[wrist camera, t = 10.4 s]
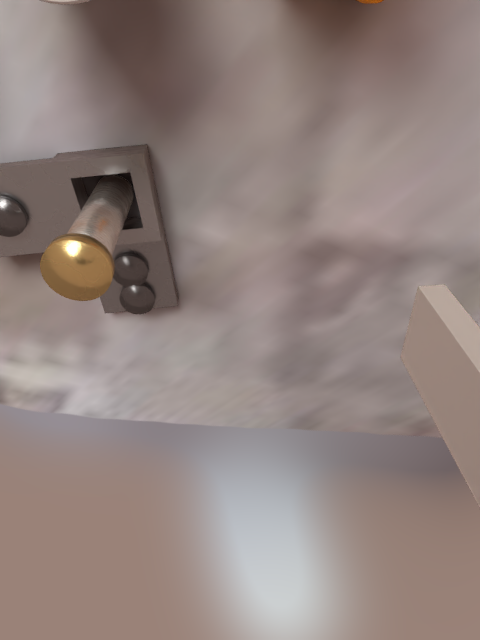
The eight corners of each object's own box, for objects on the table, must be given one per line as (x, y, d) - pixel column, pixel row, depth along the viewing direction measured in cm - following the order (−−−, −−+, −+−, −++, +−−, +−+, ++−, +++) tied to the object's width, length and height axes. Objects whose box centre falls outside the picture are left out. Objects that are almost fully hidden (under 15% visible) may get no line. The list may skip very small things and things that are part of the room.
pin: (83, 170, 34) (29, 244, 23) (133, 165, 34) (101, 237, 23) (98, 217, 36) (54, 303, 26) (144, 213, 36) (119, 297, 26)
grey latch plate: (57, 153, 33) (50, 160, 31) (147, 144, 33) (144, 150, 31) (108, 306, 42) (104, 317, 40) (178, 299, 42) (177, 310, 40)
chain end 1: (145, 148, 32) (142, 155, 30) (162, 233, 36) (161, 243, 35) (-58, 169, 32) (-71, 177, 30) (-17, 252, 36) (-27, 262, 35)
